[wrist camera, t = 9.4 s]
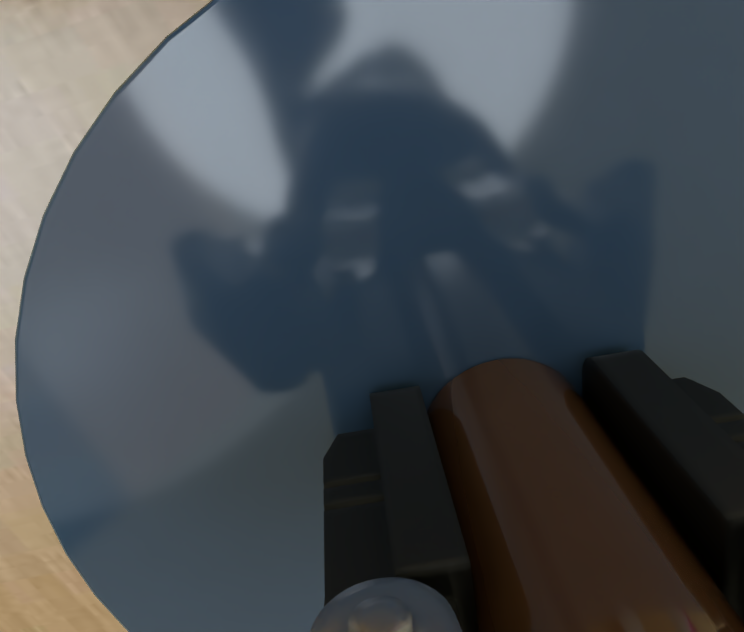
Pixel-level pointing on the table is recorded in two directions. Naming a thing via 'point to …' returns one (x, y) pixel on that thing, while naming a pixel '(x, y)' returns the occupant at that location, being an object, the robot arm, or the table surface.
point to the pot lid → (387, 298)
